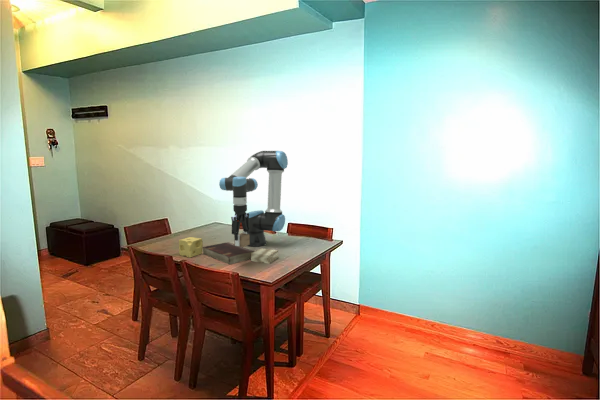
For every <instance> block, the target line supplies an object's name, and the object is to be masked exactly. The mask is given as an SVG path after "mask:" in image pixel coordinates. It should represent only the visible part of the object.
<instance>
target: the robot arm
mask: <svg viewBox="0 0 600 400" xmlns="http://www.w3.org/2000/svg"><path fill="white" fill-rule="evenodd" d="M288 162H289V161H288V156H287V154H286V153H285V152H284V151H283V150H261V151H258V152H256V153H254V154H252V155H251V156H250V157H248V158H247V160H246V162H244V163H243V164H242V165H241V166H240V167H239V168H238V169H237V170H235V171H234V172H232V173H231V174H230V175H229V176H228V177H222V178H221V179H220V180H219V188H220V190H221V191H226V192H228V191H230V192H231V191H232V204H233V210H232V211H233V212H234V215H233V216H231V217H230V218H231V234H232V235H234V236H235V242H234V244H235V246H240V235H238V234H240V229H241V227H242V232H241V233H244V234H249V238H250V245H247V247H253V248H254V247H262V246H263V247H264V246H265V244H266V245H267V239H266V236H265V232H264V231H268V232H270V231H271V232H281V231H282V230H283V228H284V226H285V224H286V216H285V214H283V211H282V210H281V199H282V198H281V196H282V178H283V177H282V174H283V173H284V172H285V170H286V169H287V168H288V165H289V163H288ZM259 169H266V171H267V172H268V185H267V186H268V187H267V208H266V210H262V209H261V210H253V211H249V212H247V211H248V205H247V203H248V202H247V197H248V196H247V195H248V194H247V193H250V192H253V191H255V190H257V189H258V184H259V183H258V180H257V179H255V178H253V177H251V178H250V177H249V176H250V175H251V174H253V172H254V171H257V170H259ZM248 177H249V178H248ZM240 226H241V227H240Z"/></svg>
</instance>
